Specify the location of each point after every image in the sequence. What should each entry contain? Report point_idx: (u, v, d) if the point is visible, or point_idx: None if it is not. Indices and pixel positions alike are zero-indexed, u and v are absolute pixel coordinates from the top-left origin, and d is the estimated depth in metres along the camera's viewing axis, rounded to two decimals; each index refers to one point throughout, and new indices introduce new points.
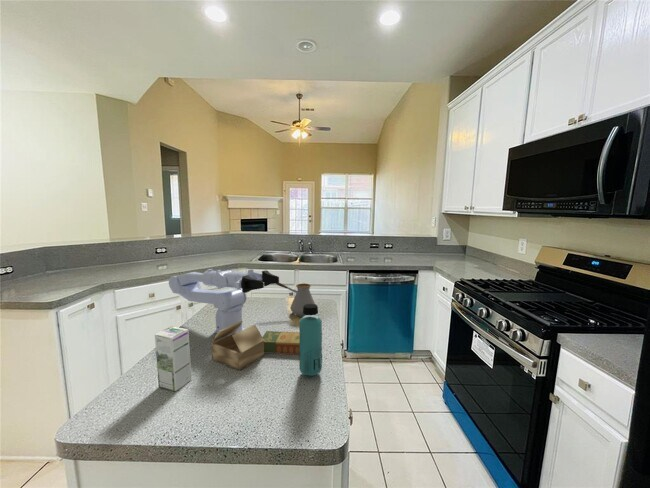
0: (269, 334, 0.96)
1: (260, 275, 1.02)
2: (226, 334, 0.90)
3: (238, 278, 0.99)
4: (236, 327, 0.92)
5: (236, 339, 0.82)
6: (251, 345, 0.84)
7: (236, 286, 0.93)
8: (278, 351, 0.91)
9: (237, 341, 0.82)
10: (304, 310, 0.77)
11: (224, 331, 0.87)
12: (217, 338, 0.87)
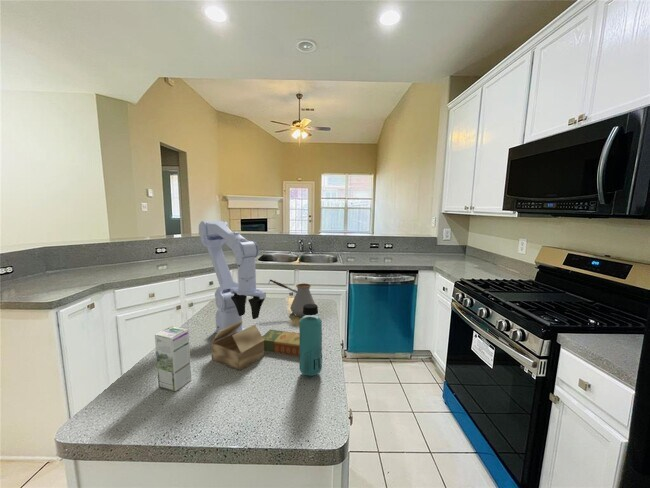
0: (271, 333, 0.97)
1: None
2: (226, 334, 0.90)
3: None
4: (236, 327, 0.92)
5: (236, 339, 0.82)
6: (251, 345, 0.84)
7: None
8: (276, 350, 0.92)
9: (237, 341, 0.82)
10: (304, 310, 0.77)
11: (224, 331, 0.87)
12: (217, 338, 0.87)
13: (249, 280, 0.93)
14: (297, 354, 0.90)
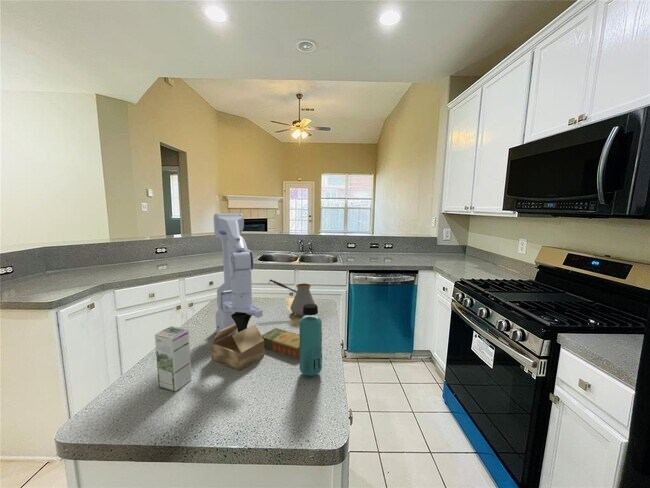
0: (274, 331, 0.99)
1: None
2: (226, 334, 0.90)
3: None
4: (236, 327, 0.92)
5: (236, 339, 0.82)
6: (251, 345, 0.84)
7: None
8: (274, 349, 0.92)
9: (237, 341, 0.82)
10: (304, 310, 0.77)
11: (224, 331, 0.87)
12: (217, 338, 0.87)
13: (244, 296, 0.82)
14: (292, 356, 0.89)
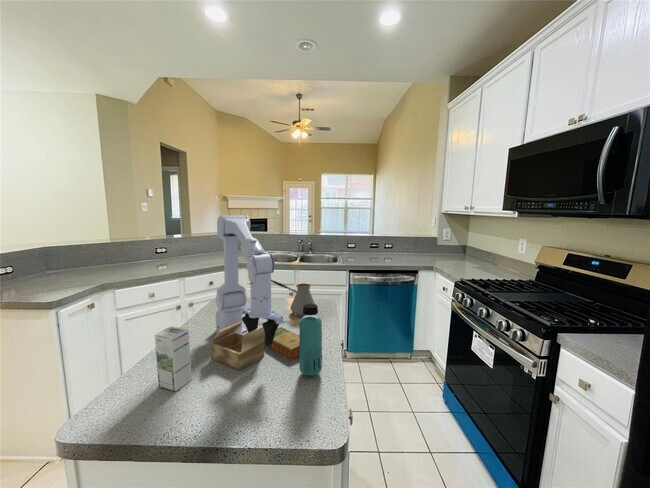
0: (277, 330, 0.99)
1: None
2: (226, 334, 0.90)
3: None
4: (236, 327, 0.92)
5: (245, 340, 0.80)
6: (252, 346, 0.84)
7: None
8: (273, 348, 0.93)
9: (244, 342, 0.80)
10: (304, 310, 0.77)
11: (224, 331, 0.87)
12: (217, 338, 0.87)
13: (264, 301, 0.79)
14: (287, 356, 0.88)
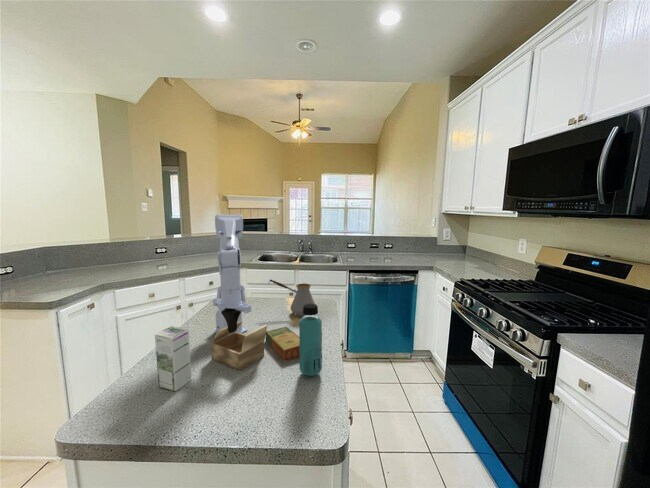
0: (281, 330, 1.00)
1: None
2: (226, 334, 0.90)
3: None
4: None
5: (245, 340, 0.80)
6: (252, 346, 0.84)
7: None
8: (272, 347, 0.94)
9: (245, 342, 0.80)
10: (304, 310, 0.77)
11: (224, 331, 0.87)
12: (217, 338, 0.87)
13: (233, 292, 0.85)
14: (281, 357, 0.88)
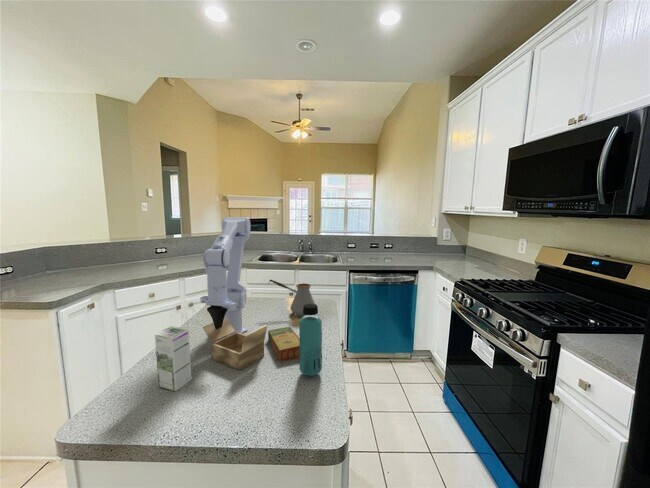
0: (284, 329, 1.00)
1: None
2: (222, 332, 0.91)
3: None
4: (226, 324, 0.94)
5: (245, 340, 0.80)
6: (252, 346, 0.84)
7: None
8: (272, 346, 0.95)
9: (245, 342, 0.80)
10: (304, 310, 0.77)
11: (211, 327, 0.90)
12: (212, 336, 0.88)
13: (219, 290, 0.88)
14: (278, 356, 0.88)
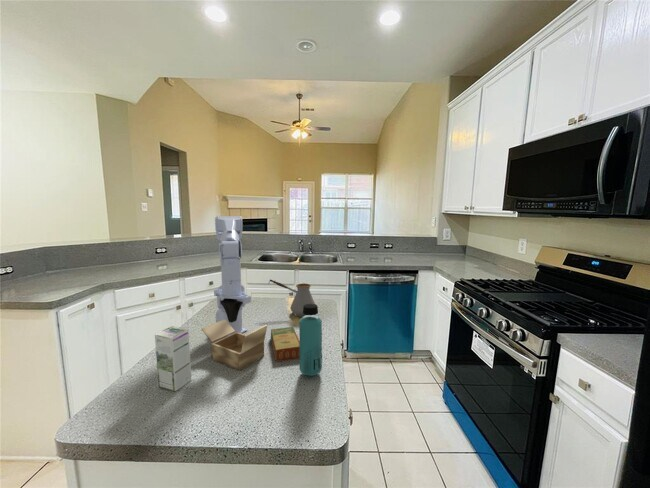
0: (286, 329, 1.00)
1: None
2: (222, 332, 0.91)
3: None
4: (225, 325, 0.95)
5: (245, 340, 0.80)
6: (252, 346, 0.84)
7: None
8: (272, 345, 0.95)
9: (245, 342, 0.80)
10: (304, 310, 0.77)
11: (210, 328, 0.90)
12: (212, 336, 0.88)
13: (233, 283, 0.86)
14: (275, 356, 0.88)
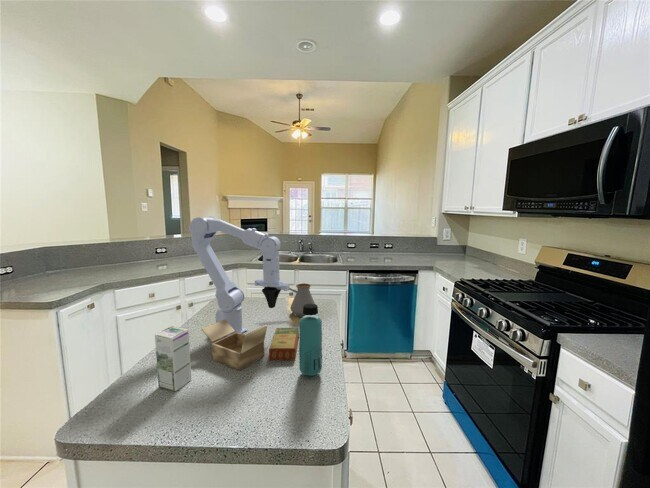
0: (290, 329, 1.00)
1: None
2: (221, 332, 0.91)
3: None
4: (225, 325, 0.95)
5: (245, 340, 0.80)
6: (252, 346, 0.84)
7: None
8: None
9: (245, 342, 0.80)
10: (304, 310, 0.77)
11: (210, 328, 0.91)
12: (212, 336, 0.88)
13: (274, 273, 1.00)
14: None
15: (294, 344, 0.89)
